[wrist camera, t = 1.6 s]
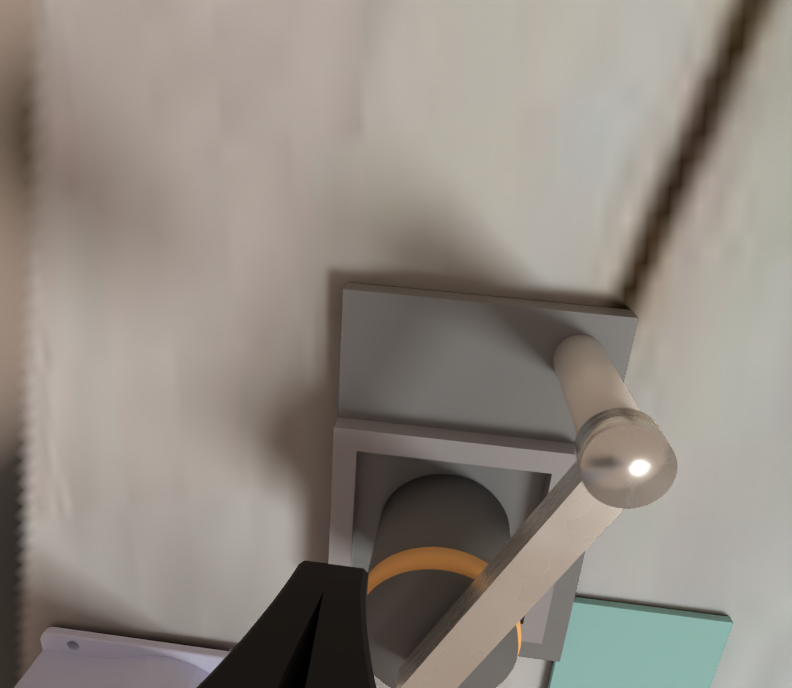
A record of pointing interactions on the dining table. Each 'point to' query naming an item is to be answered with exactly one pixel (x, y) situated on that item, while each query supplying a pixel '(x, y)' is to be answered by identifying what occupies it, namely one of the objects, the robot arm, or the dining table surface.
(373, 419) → the socket
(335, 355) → the dining table surface
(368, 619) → the plug
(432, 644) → the brushed metal lever
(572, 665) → the mat
